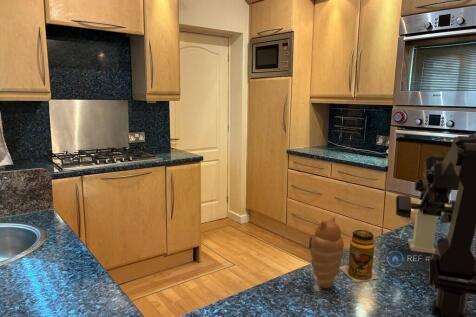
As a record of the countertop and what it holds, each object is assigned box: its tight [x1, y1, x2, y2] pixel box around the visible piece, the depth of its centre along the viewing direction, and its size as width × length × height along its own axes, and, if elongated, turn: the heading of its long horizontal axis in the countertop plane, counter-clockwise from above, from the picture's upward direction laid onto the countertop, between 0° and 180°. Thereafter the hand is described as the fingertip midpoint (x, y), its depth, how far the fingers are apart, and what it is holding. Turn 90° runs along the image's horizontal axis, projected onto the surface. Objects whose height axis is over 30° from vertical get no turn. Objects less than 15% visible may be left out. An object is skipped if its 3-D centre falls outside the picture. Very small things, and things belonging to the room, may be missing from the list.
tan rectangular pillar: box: [412, 202, 438, 249], centre depth 112 cm, size 5×5×13 cm
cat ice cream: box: [310, 216, 345, 289], centre depth 88 cm, size 9×8×18 cm
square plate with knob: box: [407, 238, 436, 254], centre depth 113 cm, size 7×7×4 cm
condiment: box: [339, 229, 380, 283], centre depth 96 cm, size 7×8×12 cm
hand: (424, 220), depth 113 cm, fingers open, 9 cm apart
